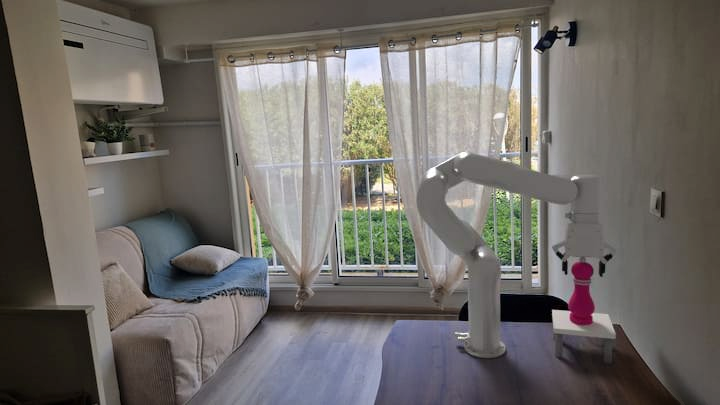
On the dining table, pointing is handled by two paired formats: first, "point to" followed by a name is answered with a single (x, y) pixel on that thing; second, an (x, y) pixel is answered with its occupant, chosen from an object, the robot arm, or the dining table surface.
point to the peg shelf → (583, 331)
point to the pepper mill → (581, 294)
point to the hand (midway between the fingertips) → (583, 274)
